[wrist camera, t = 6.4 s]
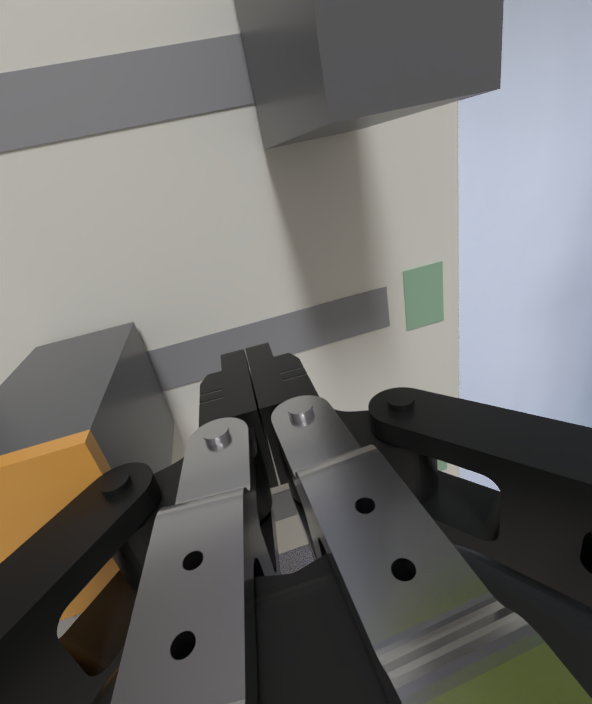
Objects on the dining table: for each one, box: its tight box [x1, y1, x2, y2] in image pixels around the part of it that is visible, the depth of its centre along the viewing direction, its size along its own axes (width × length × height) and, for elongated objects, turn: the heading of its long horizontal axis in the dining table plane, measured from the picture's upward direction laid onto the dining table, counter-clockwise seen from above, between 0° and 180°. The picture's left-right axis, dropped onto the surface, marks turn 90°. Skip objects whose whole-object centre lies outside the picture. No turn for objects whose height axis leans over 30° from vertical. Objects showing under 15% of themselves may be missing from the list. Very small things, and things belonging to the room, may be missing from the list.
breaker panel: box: [0, 0, 459, 554], centre depth 15 cm, size 17×22×2 cm
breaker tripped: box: [0, 322, 175, 621], centre depth 10 cm, size 3×4×6 cm
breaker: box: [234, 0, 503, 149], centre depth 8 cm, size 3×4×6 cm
